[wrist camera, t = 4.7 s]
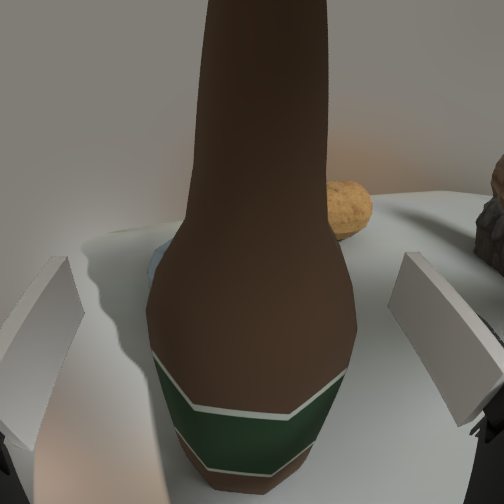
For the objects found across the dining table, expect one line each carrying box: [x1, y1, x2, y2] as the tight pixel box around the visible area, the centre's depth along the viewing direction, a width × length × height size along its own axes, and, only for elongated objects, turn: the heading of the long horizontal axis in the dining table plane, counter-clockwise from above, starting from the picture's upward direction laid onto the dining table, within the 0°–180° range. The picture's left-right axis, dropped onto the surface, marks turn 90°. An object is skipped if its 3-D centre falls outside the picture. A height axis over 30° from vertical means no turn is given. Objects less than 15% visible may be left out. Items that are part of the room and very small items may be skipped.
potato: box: [326, 181, 372, 240], centre depth 42 cm, size 10×14×8 cm
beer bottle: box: [146, 0, 357, 495], centre depth 11 cm, size 8×8×24 cm
